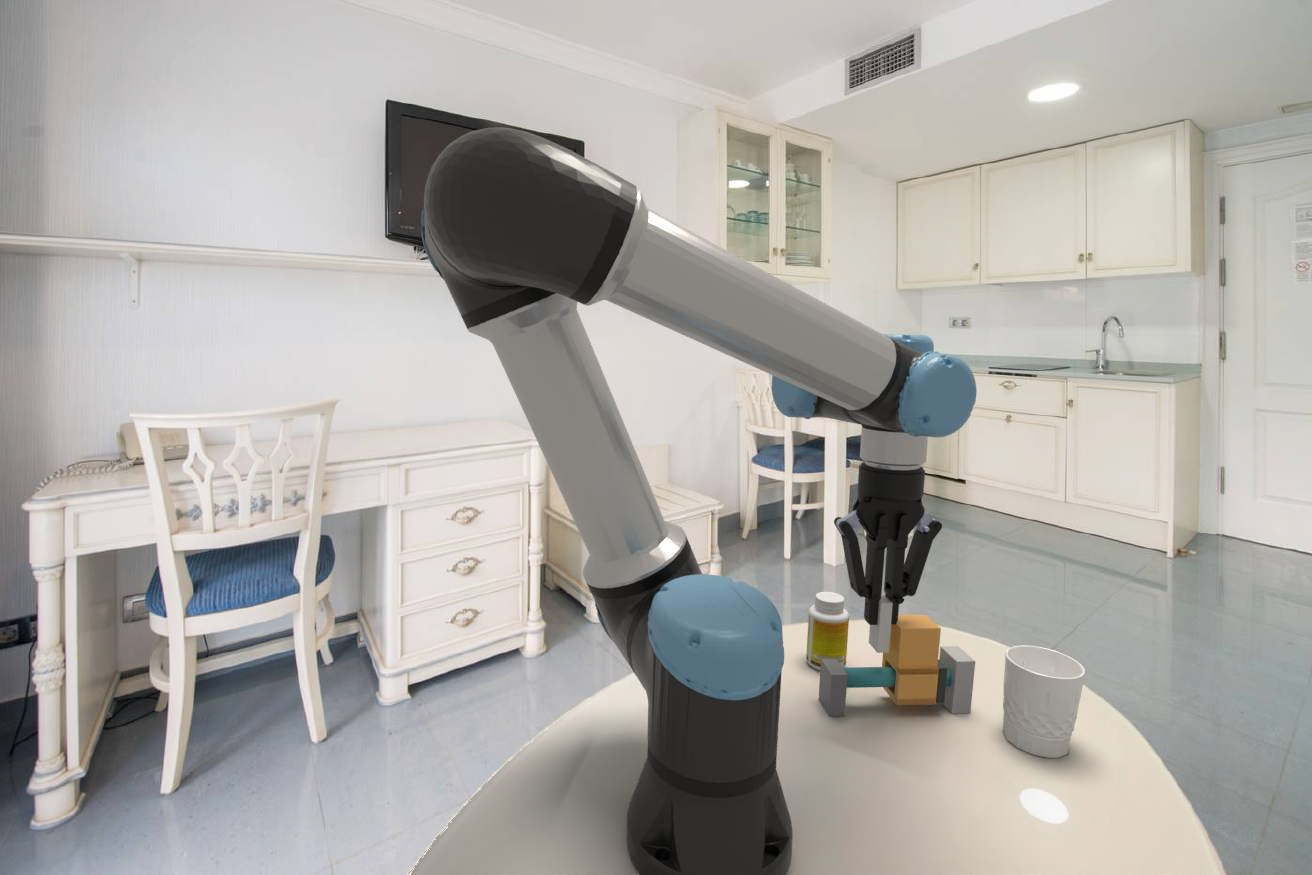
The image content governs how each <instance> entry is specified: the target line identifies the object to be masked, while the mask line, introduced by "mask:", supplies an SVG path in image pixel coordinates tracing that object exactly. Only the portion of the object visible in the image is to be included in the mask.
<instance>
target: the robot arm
mask: <svg viewBox="0 0 1312 875" xmlns="http://www.w3.org/2000/svg"><path fill="white" fill-rule="evenodd" d="M423 205H424V206H423V209H422V211H421V222H420V223H421V225H420V226H421V240H422V243H423V244H422V245H423V247H424V249H425V253H426V255H427V258H428V260H429V263H430V265H431V266H432V267H433V269H434V270H435V272H437V273H438V275H439V277H440V278H441V279H443V281H444V282H445V285H446V287H447V289H448V291H449V293H450V295H451V298H452V300H453V302H454V303H455V307H456V308H457V310H458V312H459V314H460V316H461V319H462V321H463V323H464V325H465V327H466V329H467V331H468V332H469V333H471V334H474V335H476V336H478V337H480V338H482V339H486V340H487V341H489V342H490V343H492V344H491V345H492V346H493V348H494V350H495V352H496V355H497V357H498V359H499V362H500V363H501V365H502V368H503V369H504V372H505V374H506V376H507V378H508V381H509V383H510V385H511V387H512V389H513V391H514V393H515V396H516V397H517V400H518V402H519V404H520V406H521V409H522V411H523V413H524V415H525V417H526V420H527V422H528V424H529V426H530V428H531V431H532V433H533V435H534V437H535V439H536V442H537V444H538V446H539V448H540V450H541V452H542V454H543V456H544V459H545V461H546V463H547V465H548V467H549V470H550V472H551V474H552V476H553V479H554V480H555V484H556V485H557V487H558V489H559V491H560V493H561V496H562V498H563V500H564V502H565V504H566V507H567V508H568V511H569V513H570V516H571V517H572V519H573V522H574V523H575V527H576V528H577V530H578V532H579V534H580V537H581V539H582V541H583V544H584V545H585V548H586V550H587V552H588V554H589V556H588V557H587V560H586V562H585V564H584V566H583V570H582V571H583V572H582V575H583V578H584V580H585V583H586V585H587V587H588V589H589V591H590V594H591V595H592V598H593V600H594V606H595V610H596V614H597V618H598V621H599V623H600V625H601V627H602V629H603V630H604V632H605V633H606V635H607V636H608V637H609V639H610V640H611V641H612V642H613V643H614V644H615V646H616V647H617V650H619V652H620V653H621V655H622V657H623V658H624V659H625V661H626V662H627V664H628V666H629V667H630V668H631V670H632V672H633V673H634V676H636V678H637V679H638V680H639V682H640V685H641V686H642V688H643V689H644V690H645V693H646V696H647V703H648V704H647V751H646V753H647V754H646V758H645V762H644V765H643V768H642V770H641V773H640V775H639V778H638V781H637V784H636V786H635V788H634V791H633V794H632V796H631V799H630V802H629V805H628V808H627V809H628V810H627V813H626V814H627V815H626V847H627V852H628V855H629V858H630V860H631V862H632V864H633V866H634V867H635V870H636V871H637V872H638V873H639V875H787V873H788V870H789V869H790V865H791V861H792V852H793V851H792V850H793V823H792V819H791V816H790V811H789V808H788V805H787V802H786V797H785V794H784V791H783V788H782V783H781V780H780V777H779V774H778V771H777V755H778V741H779V722H780V720H779V719H780V705H781V704H780V703H781V689H782V686H781V685H782V671H783V670H782V669H783V667H784V664H785V648H784V647H785V646H784V637H783V634H784V633H783V624H782V618H781V616H780V613H779V611H778V608H777V607H776V605H775V604H774V603H773V601H771V599H770V598H769V597H768V596H766V594H764V593H763V592H762V591H760V590H759V589H758V588H756V587H755V586H752V585H750V584H748V583H747V582H744V581H737V582H736V581H732V578H731V577H728V576H722V575H718V574H717V575H716V574H705V573H704V574H703V573H702V571H701V567H700V566H699V563H698V561H697V559H696V556H695V554H694V551H693V548H692V547H691V544H690V542H689V540H688V537H687V535H686V532H685V530H684V528H683V527H682V526H680V525H678V524H676V523H672V522H669V521H666V520H665V519H664V516H663V514H662V511H661V509H660V506H659V505H658V502H657V499H656V497H655V494H654V492H653V490H652V488H651V486H650V482H649V481H648V477H647V475H646V473H645V470H644V468H643V466H642V464H641V462H640V459H639V456H638V454H637V452H636V449H635V447H634V444H633V441H632V439H631V437H630V434H629V432H628V429H627V427H626V425H625V422H624V419H623V418H622V415H621V413H620V409H619V407H618V405H617V402H616V401H615V398H614V395H613V394H612V392H611V388H610V387H609V386H610V385H609V384H608V381H607V380H606V377H605V374H604V372H603V370H602V367H601V364H600V362H599V360H598V358H597V355H596V353H595V350H594V348H593V346H592V343H591V341H590V338H589V335H588V333H587V331H586V329H585V326H584V324H583V322H582V318H581V316H580V314H579V311H578V303H579V304H582V305H584V306H592V305H595V304H598V303H599V302H602V301H608V302H609V303H612V304H614V305H616V306H619V307H620V308H623V309H625V310H627V311H630V312H631V313H634V314H635V315H638V316H640V317H643V318H645V319H648V320H650V321H652V322H653V323H656V324H658V325H660V326H662V327H664V328H667V329H669V330H671V331H674V332H676V333H678V334H681V335H682V336H685V337H687V338H689V339H691V340H693V341H696V342H698V343H700V344H702V345H704V346H706V347H709V348H711V349H713V350H715V351H718V352H720V353H721V354H722V353H723V354H725V355H726V356H729V357H731V358H734V359H735V360H738V361H740V362H743V363H745V364H747V365H748V366H751V367H754V368H756V369H758V370H760V371H762V372H764V373H767V374H769V375H771V394H772V399H773V402H774V405H775V407H776V408H777V410H778V411H779V412H780V413H781V414H782V415H784V416H785V417H788V418H797V419H798V418H800V419H801V418H804V419H805V420H810V419H812V418H822V419H824V418H825V419H829V420H830V419H831V420H837V421H842V422H846V423H852V424H857V425H861V434H860V448H859V449H860V451H859V458H860V459H861V460H862V462H861V463H860V464H859V465H858V476H857V477H858V478H857V498H856V501H855V502H854V504H853V507H852V511H851V512H850V513H848V514H847V515H845V516H843V517H841V516H837V517H835V518H834V520H833V523H834V526H835V527H836V529H837V531H838V532H839V534H840V535H841V536H840V537H841V541H842V542H841V543H842V546H843V547H842V548H843V553H844V558H845V563H846V568H847V574H848V579H849V585H850V588H851V589H852V590H853V591H854V592H855V593H856V595H857V596H859V597H860V598H864V609H863V612H864V613H863V618H864V621H865V622H866V623H867V624H868V625H869V635H868V644H869V645H870V646H871V647H872V648H873V649H874V650H875V652H876V653H878V654H880V653H881V654H883V653H889V646H890V632H891V624H896V623H897V621H898V615H899V611H900V605H901V604H903V603H904V602H905V598H904V597H907V596H908V597H914V596H915V595H916V593H917V591H918V588H919V584H920V581H921V578H922V575H923V572H924V570H925V566H926V563H927V559H928V556H929V554H930V550H931V547H932V544H933V541H934V540H935V538H936V537H937V536H938V534H939V533H940V531H941V530H942V529H943V524H942V522H940V521H939V520H937V519H935V518H933V517H931V516H929V515H928V514H926V513H925V512H926V511H925V507H924V504H923V502H922V499H923V496H924V490H925V489H924V488H925V480H926V479H925V478H926V470H925V469H924V468H923V465H924V464H925V463H927V455H928V439H929V438H944V437H948V436H950V435H952V434H955V433H956V432H957V431H959V430H960V429H961V428H963V426H964V425H965V424H966V423H967V422H968V421H969V419H970V417H971V414H972V412H973V408H974V406H975V404H976V400H977V383H976V378H975V375H974V373H973V371H972V369H971V367H970V366H969V365H968V363H966V361H965V360H963V359H961V358H960V357H959V356H956V355H952V354H946V353H940V352H939V351H934V350H935V345H934V340H933V339H932V338H931V337H930V336H928V335H926V334H908V333H907V334H897V333H896V334H894V333H892V334H891V333H886V334H885V333H882V332H880V331H877V330H875V329H874V328H872V327H870V326H868V325H866V324H864V323H862V322H860V321H859V320H856V319H855V318H853V317H851V316H850V315H848V314H845V313H844V312H842V311H839V310H838V309H837V308H834V307H832V306H830V304H827V303H825V302H823V301H821V300H819V299H818V298H816V297H814V296H812V295H810V294H809V293H806V292H805V291H803V290H801V289H799V288H797V287H795V286H793V285H791V284H790V283H788V282H786V281H784V280H783V279H780V278H778V277H777V276H775V275H773V274H771V273H770V272H767V271H766V270H764V269H761V268H760V267H758V266H756V265H754V264H752V263H751V262H748V261H747V260H745V259H743V258H741V257H739V256H738V255H735V254H734V253H732V252H730V251H728V250H726V249H724V248H722V247H720V246H719V245H717V244H715V243H713V242H712V241H709V240H707V239H706V238H704V237H702V236H700V235H699V234H696V233H694V232H692V231H691V230H690V229H687V228H686V227H683V226H682V225H679V224H678V223H677V222H674V221H672V220H670V219H668V218H667V217H665V216H663V215H661V214H659V213H657V212H656V211H653V210H651V209H649V208H648V207H647V205H646V203H645V200H644V197H643V194H642V190H641V188H640V187H639V186H637V185H636V184H634V183H631V182H630V181H628V180H626V179H624V178H622V177H620V175H617V174H615V173H614V172H612V171H610V170H608V169H606V168H604V167H603V166H601V165H600V164H598V163H595V162H594V161H591V160H589V159H587V158H585V157H583V156H582V155H580V154H578V153H576V152H574V151H573V150H571V149H569V148H567V147H565V146H562V145H560V144H558V143H556V142H553V141H552V140H549V139H547V138H544V137H542V136H540V135H537V134H535V133H531V132H529V131H524V130H521V129H517V128H516V129H515V128H510V127H503V126H501V127H500V126H497V127H486V128H485V127H483V128H481V129H475V130H472V131H469V132H467V133H465V134H463V135H460V136H459V137H458V138H456V139H454V140H453V141H452V142H450V143H449V144H448V145H447V146H446V147H445V148H444V149H443V151H441V152H440V154H439V155H438V156H437V157H436V159H435V161H434V163H433V164H432V166H431V168H430V170H429V173H428V177H427V180H426V183H425V187H424V195H423ZM858 523H859V524H860V525H861V527H862V528H863V530H864V531H865V539H866V554H865V555H866V558H865V570H864V565H863V564H864V563H863V561H862V560H863V559H862V555H861V553H862V552H861V547H860V543H859V539H858V535H857V534H856V533H857V532H858V530H859V527H858ZM915 528H916V529H915ZM914 529H915V531H914V534H913V536H912V538H911V542H910V545H909V548H908V544H909V542H908V541H909V535H910V534H911V532H912V531H913V530H914ZM907 548H908V552H907V554H906V550H907ZM885 550H886V551H885ZM885 552H886V555H885ZM884 564H885V565H884ZM884 566H885V567H884ZM884 568H885V569H884ZM883 579H884V582H883ZM882 589H883V590H882ZM882 591H883V592H884V594H883V593H882Z"/></svg>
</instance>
